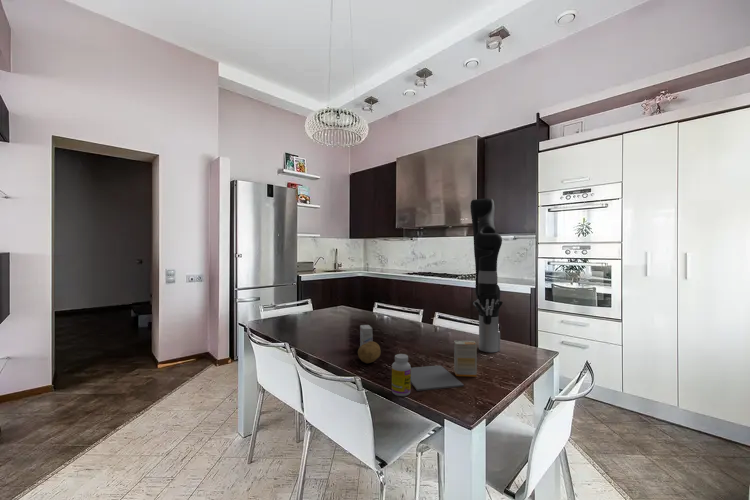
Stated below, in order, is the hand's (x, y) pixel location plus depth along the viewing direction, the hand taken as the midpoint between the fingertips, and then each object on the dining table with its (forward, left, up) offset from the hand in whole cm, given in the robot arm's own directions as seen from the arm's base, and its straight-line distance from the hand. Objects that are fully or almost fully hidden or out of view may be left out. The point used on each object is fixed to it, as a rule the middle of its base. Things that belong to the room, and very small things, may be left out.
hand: (487, 324), depth 131 cm
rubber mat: (+25, 0, -20) cm, 32 cm away
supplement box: (+10, 0, -20) cm, 22 cm away
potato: (+45, -22, -20) cm, 54 cm away
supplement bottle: (+40, +10, -20) cm, 46 cm away
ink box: (+43, -38, -20) cm, 61 cm away
